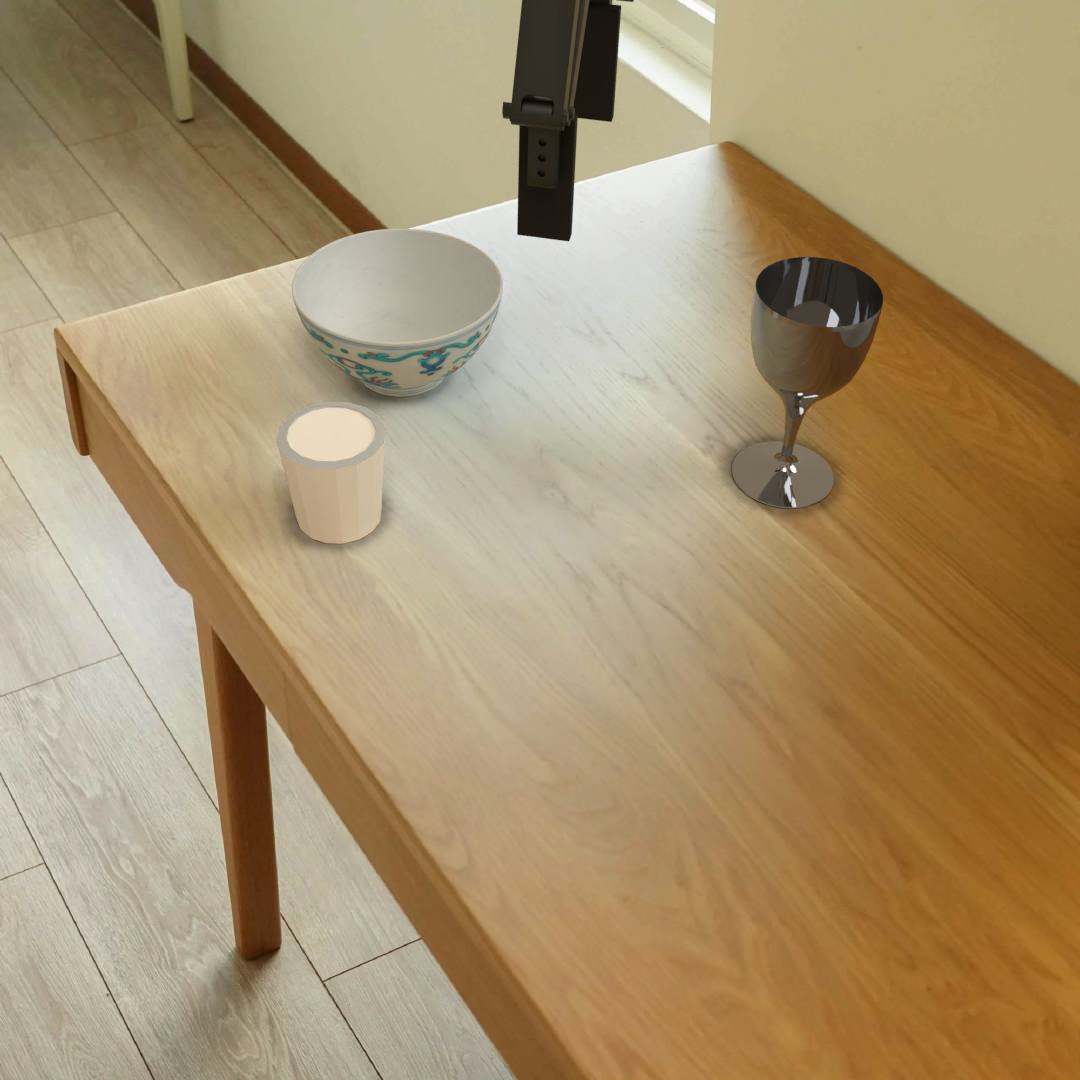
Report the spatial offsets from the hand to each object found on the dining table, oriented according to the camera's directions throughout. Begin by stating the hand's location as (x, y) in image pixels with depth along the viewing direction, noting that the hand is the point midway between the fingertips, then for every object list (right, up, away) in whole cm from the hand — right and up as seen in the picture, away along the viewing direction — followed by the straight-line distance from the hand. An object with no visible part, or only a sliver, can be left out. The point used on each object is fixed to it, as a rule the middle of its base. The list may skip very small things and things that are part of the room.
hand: (568, 172), depth 74 cm
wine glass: (+15, -16, +20) cm, 30 cm away
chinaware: (-12, -8, +28) cm, 31 cm away
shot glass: (-15, -19, +16) cm, 29 cm away
